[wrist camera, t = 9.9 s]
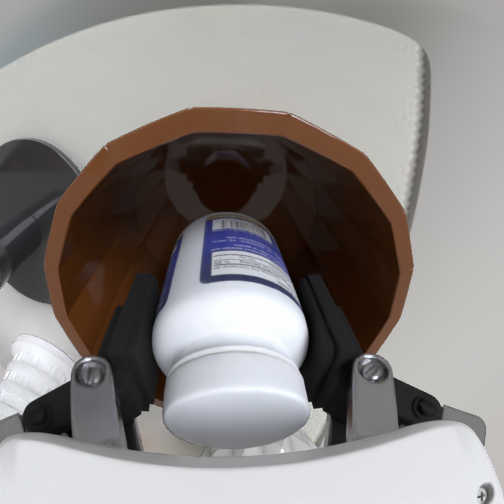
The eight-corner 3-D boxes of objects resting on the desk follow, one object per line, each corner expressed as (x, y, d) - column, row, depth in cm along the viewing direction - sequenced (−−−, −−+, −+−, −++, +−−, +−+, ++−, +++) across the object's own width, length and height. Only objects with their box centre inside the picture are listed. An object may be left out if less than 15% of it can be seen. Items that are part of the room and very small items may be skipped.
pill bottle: (217, 313, 16) (221, 464, 8) (152, 249, 13) (98, 410, 6) (297, 266, 15) (357, 418, 7) (239, 186, 12) (268, 336, 5)
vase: (312, 378, 31) (351, 517, 15) (305, 429, 39) (327, 524, 23) (180, 393, 30) (176, 534, 14) (209, 440, 39) (213, 537, 22)
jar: (123, 112, 16) (11, 133, 6) (337, 120, 17) (454, 150, 7) (139, 290, 22) (103, 406, 12) (308, 291, 24) (352, 404, 14)
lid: (-29, 153, 14) (-80, 178, 8) (97, 122, 16) (39, 136, 9) (6, 291, 21) (-25, 334, 15) (121, 302, 23) (98, 364, 17)
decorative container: (95, 397, 31) (72, 507, 15) (33, 380, 29) (2, 474, 14) (69, 344, 25) (23, 483, 10) (2, 326, 24) (-51, 434, 8)
